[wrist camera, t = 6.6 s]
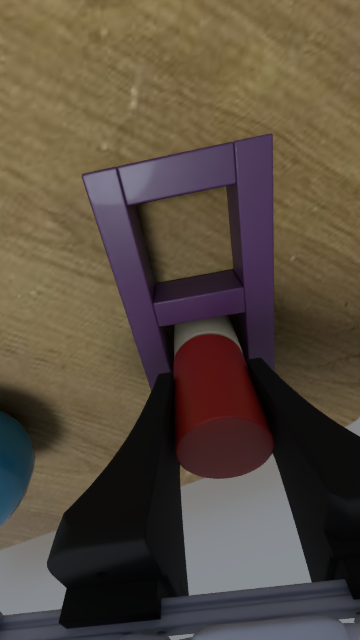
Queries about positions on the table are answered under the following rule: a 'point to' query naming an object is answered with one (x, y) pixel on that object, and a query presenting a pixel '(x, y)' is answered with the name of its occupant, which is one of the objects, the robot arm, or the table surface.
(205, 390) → the cylinder
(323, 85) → the table surface
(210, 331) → the cream token
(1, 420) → the ball
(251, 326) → the board
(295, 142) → the table surface
